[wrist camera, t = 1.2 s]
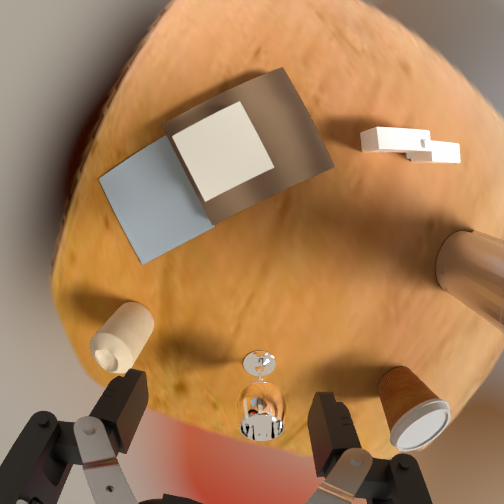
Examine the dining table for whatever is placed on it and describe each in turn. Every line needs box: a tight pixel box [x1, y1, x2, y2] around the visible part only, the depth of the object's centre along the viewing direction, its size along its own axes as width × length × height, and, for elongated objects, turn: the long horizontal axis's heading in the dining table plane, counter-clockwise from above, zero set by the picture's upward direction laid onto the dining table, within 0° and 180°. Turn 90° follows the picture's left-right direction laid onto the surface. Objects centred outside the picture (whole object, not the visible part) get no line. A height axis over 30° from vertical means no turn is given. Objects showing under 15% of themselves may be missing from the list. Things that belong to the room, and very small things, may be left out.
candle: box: [90, 302, 154, 373], centre depth 31 cm, size 6×6×10 cm
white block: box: [172, 101, 274, 202], centre depth 26 cm, size 7×7×3 cm
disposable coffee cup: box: [377, 367, 451, 451], centre depth 33 cm, size 10×10×12 cm
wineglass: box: [235, 351, 287, 441], centre depth 32 cm, size 6×6×12 cm
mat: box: [99, 135, 216, 265], centre depth 32 cm, size 10×12×1 cm
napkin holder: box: [360, 127, 460, 163], centre depth 28 cm, size 15×11×6 cm
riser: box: [162, 67, 335, 225], centre depth 29 cm, size 14×12×3 cm
